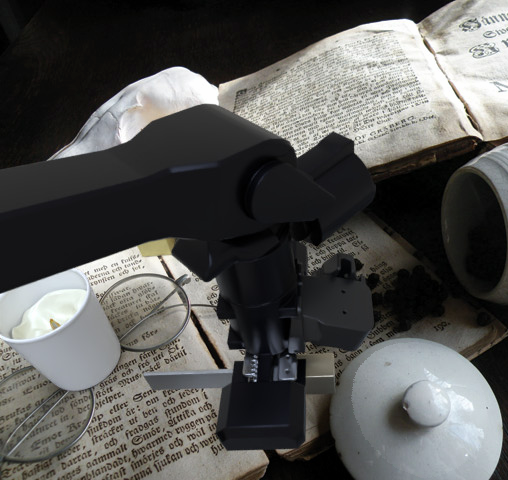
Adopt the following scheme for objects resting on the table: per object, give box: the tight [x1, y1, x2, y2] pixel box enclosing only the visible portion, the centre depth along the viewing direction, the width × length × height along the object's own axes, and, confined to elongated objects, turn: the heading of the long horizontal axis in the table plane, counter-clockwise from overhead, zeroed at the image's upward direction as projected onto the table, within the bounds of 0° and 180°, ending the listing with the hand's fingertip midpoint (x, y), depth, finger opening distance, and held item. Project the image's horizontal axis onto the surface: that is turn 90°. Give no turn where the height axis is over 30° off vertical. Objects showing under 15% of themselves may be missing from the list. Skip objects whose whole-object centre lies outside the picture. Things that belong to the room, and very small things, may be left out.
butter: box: [136, 238, 176, 258], centre depth 71 cm, size 4×9×4 cm, turn 3°
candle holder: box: [0, 267, 122, 392], centre depth 53 cm, size 10×10×12 cm
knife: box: [142, 352, 336, 396], centre depth 45 cm, size 18×2×4 cm, turn 91°
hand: (280, 379), depth 46 cm, fingers closed on knife, 2 cm apart
